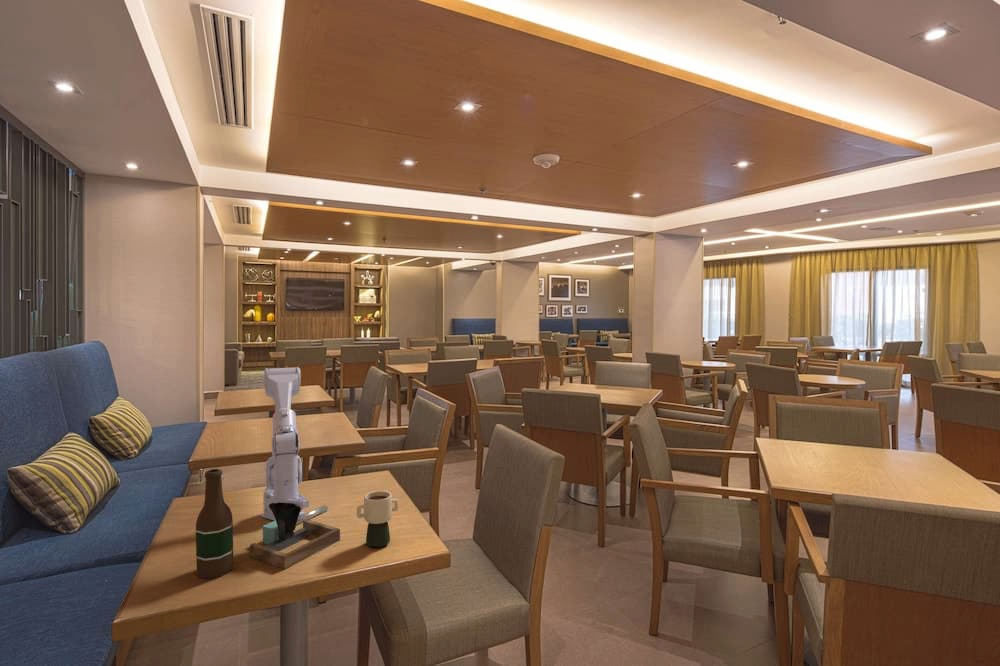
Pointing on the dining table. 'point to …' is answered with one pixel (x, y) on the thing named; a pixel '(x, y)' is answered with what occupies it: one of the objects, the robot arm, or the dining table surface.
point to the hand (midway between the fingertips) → (286, 529)
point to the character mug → (377, 516)
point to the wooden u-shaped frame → (284, 561)
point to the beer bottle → (214, 531)
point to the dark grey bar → (286, 537)
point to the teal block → (270, 532)
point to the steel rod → (312, 514)
